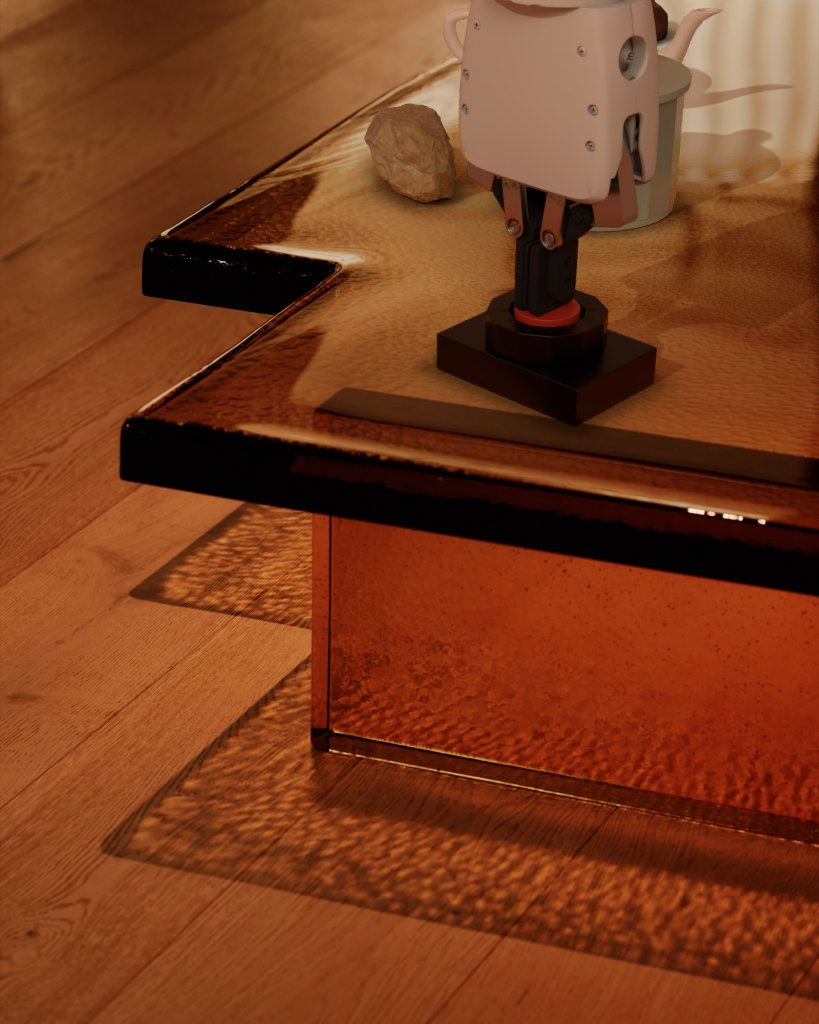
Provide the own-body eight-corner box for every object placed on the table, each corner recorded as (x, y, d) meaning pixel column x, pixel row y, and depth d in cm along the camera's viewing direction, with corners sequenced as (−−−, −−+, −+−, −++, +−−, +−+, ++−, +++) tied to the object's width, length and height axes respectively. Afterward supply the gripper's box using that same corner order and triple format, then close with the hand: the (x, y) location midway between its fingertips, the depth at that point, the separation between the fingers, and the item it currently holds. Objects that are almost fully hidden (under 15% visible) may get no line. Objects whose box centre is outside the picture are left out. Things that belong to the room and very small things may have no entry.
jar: (706, 199, 112) (717, 79, 108) (605, 245, 106) (613, 118, 101) (579, 162, 119) (585, 47, 115) (476, 202, 112) (478, 82, 108)
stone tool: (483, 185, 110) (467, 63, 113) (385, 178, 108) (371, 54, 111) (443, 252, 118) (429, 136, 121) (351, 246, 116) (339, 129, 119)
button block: (654, 383, 89) (660, 316, 87) (574, 427, 84) (578, 358, 82) (517, 329, 95) (519, 266, 92) (436, 368, 90) (436, 303, 88)
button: (592, 335, 88) (594, 305, 87) (550, 356, 86) (551, 326, 85) (542, 316, 90) (543, 287, 89) (499, 336, 88) (500, 307, 87)
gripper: (734, -30, 76) (697, 325, 85) (496, -78, 84) (487, 249, 94) (637, 0, 71) (609, 371, 81) (396, -54, 80) (397, 286, 89)
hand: (543, 304), depth 87 cm, fingers closed
